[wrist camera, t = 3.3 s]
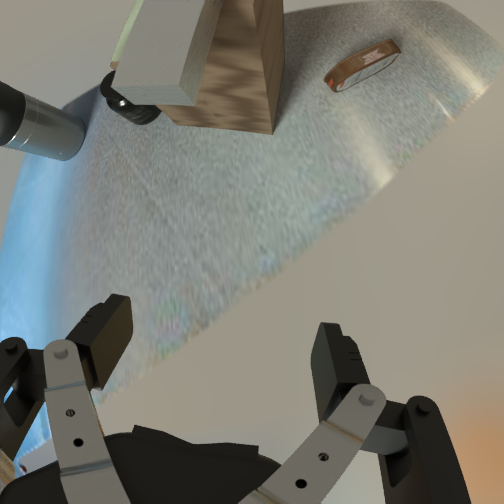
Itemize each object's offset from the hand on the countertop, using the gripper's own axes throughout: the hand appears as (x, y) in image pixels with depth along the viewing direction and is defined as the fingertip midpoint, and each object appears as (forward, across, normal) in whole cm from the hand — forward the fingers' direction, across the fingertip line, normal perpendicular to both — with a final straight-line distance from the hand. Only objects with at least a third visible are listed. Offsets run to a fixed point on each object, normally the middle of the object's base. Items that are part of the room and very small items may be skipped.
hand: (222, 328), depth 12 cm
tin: (+43, +15, +21) cm, 50 cm away
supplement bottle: (+43, -21, +11) cm, 49 cm away
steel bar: (+11, -5, +20) cm, 23 cm away
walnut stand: (+43, -6, +14) cm, 46 cm away
